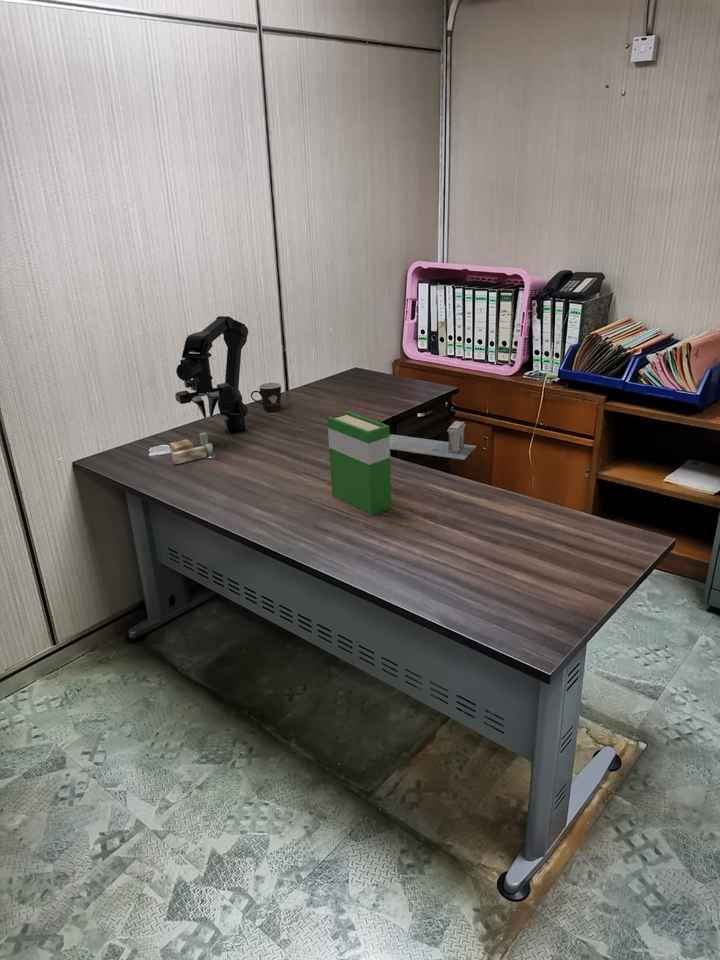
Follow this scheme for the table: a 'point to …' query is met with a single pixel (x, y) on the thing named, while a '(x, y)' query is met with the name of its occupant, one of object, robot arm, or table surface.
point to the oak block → (180, 445)
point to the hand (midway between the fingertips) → (208, 417)
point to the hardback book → (360, 462)
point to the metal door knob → (209, 451)
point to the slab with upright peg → (436, 444)
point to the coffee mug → (270, 396)
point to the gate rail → (189, 455)
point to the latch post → (203, 438)
